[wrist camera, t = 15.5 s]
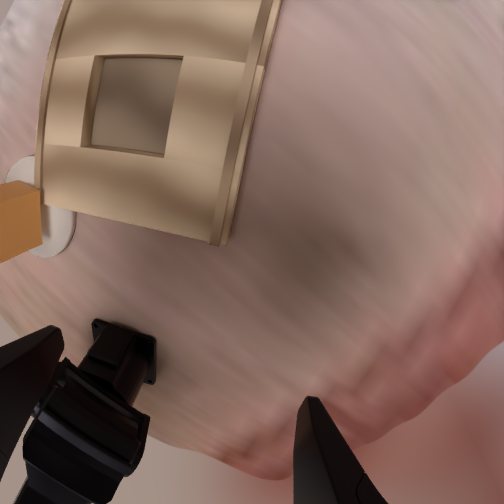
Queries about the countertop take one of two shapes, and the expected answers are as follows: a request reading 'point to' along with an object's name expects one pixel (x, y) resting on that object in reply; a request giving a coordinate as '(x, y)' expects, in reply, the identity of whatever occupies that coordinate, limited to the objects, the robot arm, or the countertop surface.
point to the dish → (46, 214)
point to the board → (152, 110)
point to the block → (19, 219)
